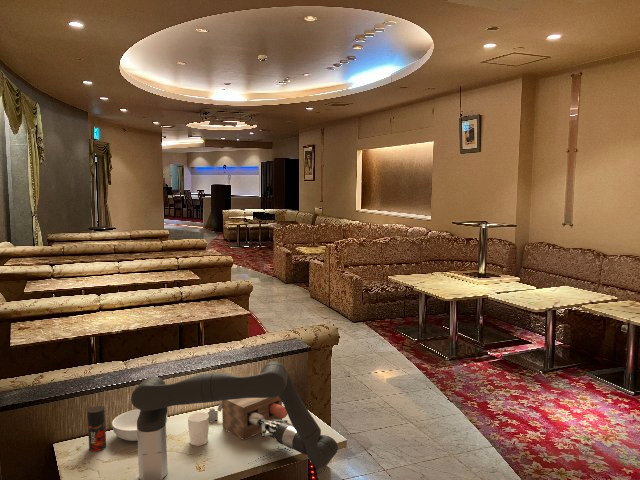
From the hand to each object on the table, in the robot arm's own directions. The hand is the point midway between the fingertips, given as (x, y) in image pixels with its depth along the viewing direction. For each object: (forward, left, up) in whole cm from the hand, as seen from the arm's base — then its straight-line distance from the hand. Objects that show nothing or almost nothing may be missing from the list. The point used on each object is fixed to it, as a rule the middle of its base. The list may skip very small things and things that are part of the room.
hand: (260, 421), depth 190 cm
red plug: (+9, -8, -2) cm, 12 cm away
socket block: (+13, +1, -7) cm, 15 cm away
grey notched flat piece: (+23, +15, -8) cm, 28 cm away
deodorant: (+13, +60, -8) cm, 62 cm away
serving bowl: (+19, +45, -8) cm, 49 cm away
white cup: (+6, +23, -8) cm, 25 cm away
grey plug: (+4, +2, -2) cm, 5 cm away
